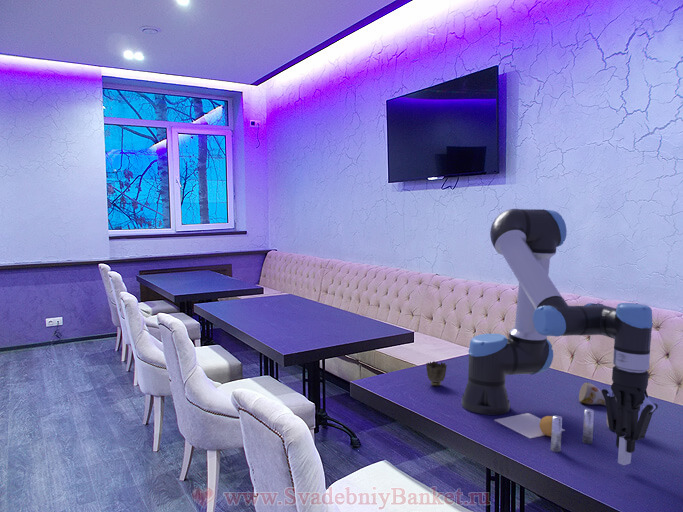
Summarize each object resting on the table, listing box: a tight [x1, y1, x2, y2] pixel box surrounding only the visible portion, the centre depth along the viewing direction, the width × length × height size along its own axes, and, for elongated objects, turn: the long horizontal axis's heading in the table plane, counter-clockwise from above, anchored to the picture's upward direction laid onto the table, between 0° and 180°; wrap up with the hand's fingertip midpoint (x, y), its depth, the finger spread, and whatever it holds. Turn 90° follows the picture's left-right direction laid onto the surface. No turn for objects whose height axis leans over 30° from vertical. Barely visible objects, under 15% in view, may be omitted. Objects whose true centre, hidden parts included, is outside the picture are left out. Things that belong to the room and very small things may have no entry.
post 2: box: [582, 408, 595, 445], centre depth 137 cm, size 2×2×9 cm
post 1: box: [550, 415, 563, 453], centre depth 132 cm, size 2×2×9 cm
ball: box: [540, 415, 553, 437], centre depth 141 cm, size 6×6×6 cm
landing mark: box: [494, 412, 566, 440], centre depth 148 cm, size 14×14×1 cm
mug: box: [578, 382, 606, 407], centre depth 168 cm, size 8×10×10 cm
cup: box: [425, 360, 448, 387], centre depth 183 cm, size 8×7×8 cm
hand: (624, 462), depth 121 cm, fingers closed
